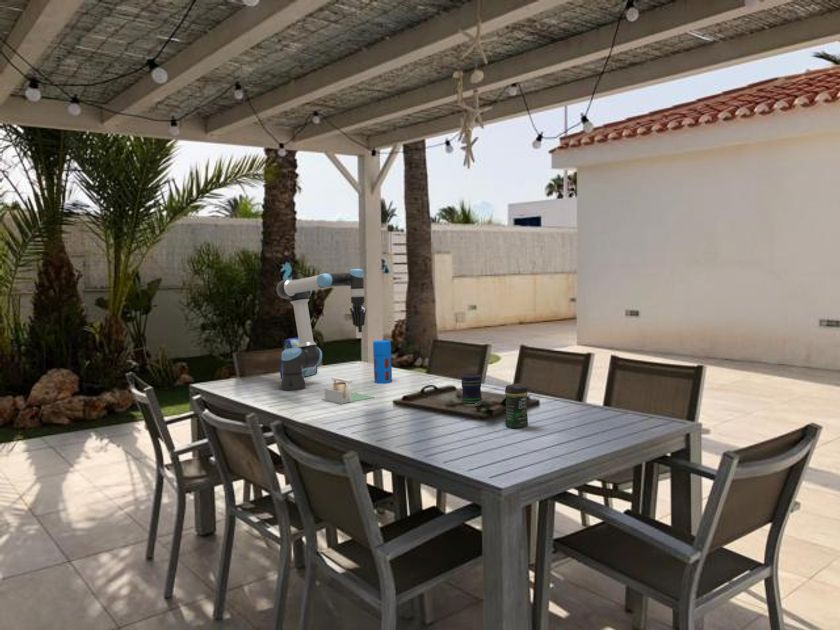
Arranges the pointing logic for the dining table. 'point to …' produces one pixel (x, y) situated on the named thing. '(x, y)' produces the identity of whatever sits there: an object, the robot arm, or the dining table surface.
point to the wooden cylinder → (340, 388)
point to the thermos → (382, 361)
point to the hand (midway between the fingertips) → (359, 337)
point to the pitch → (355, 397)
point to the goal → (338, 392)
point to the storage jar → (471, 388)
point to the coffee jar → (516, 405)
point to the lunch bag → (294, 344)
